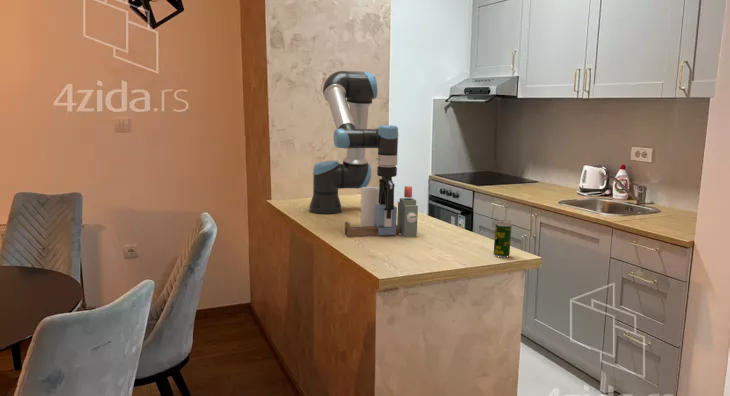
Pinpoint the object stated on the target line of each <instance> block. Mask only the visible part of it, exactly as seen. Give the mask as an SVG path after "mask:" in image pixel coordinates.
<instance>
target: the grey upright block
mask: <svg viewBox="0 0 730 396" xmlns="http://www.w3.org/2000/svg"><path fill="white" fill-rule="evenodd" d="M418 210H419V206H418V205H417V199H415V198H413V197H411V198H406V197H402V198H401V197H400V198H399V201H397V218H396V225H397V226H399V227H400V236H403V237H404V238H406V237H407V238H408V237H409V238H410V237H411V238H412V237H418V236H417V235H418V216H419V214H418V213H419V212H418Z"/></svg>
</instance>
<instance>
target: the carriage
mask: <svg viewBox="0 0 730 396" xmlns="http://www.w3.org/2000/svg"><path fill="white" fill-rule="evenodd" d="M384 209H385V204H384V205H375V226H377V227H378V235H387V236H397V235H396V225H397V217H398V206H396V205H394V209H392V224H391V227H384V215H385V210H384Z"/></svg>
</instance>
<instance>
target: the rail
mask: <svg viewBox="0 0 730 396" xmlns="http://www.w3.org/2000/svg"><path fill="white" fill-rule="evenodd" d="M344 235H345V237H347V238H350V237H351V238H352V237H353V238H355V237H382V236H385V237H387V236H388V235H378V227H377V226H361V225H360V226H351V224H350V222H349V221H344ZM395 236H401V234H400V227H399V226H397V224H396V235H395Z"/></svg>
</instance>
